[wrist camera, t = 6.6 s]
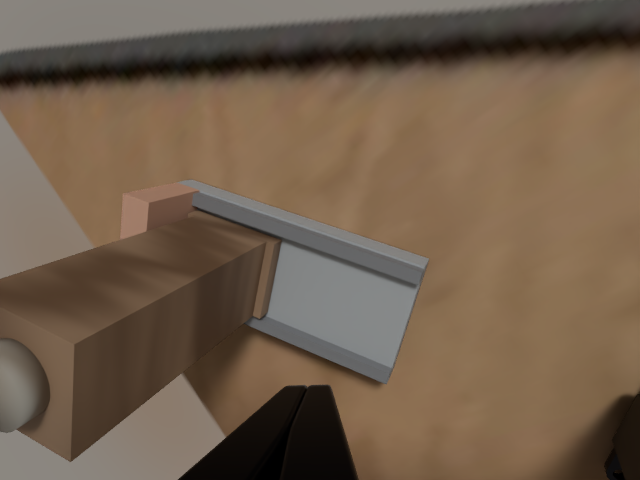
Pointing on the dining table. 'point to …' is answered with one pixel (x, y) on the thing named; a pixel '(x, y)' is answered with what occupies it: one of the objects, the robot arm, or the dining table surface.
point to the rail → (307, 275)
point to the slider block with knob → (123, 324)
